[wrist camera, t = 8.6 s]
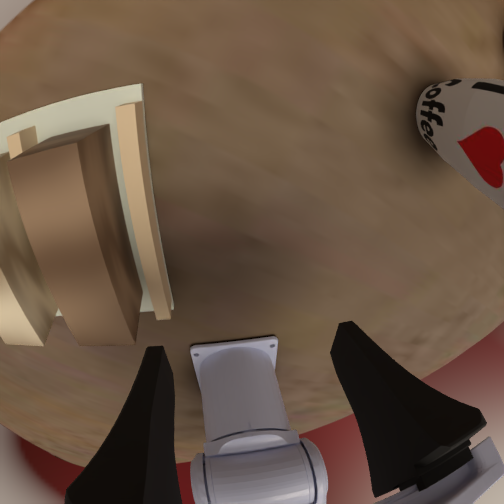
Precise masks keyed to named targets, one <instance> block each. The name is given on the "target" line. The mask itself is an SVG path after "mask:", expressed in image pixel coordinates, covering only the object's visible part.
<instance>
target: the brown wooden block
mask: <svg viewBox="0 0 504 504" xmlns="http://www.w3.org/2000/svg"><path fill="white" fill-rule="evenodd" d="M7 167H8V171H9V175H10V180H11V184H12V187H13V191H14V195H15V198H16V202H17V205H18V209H19V212H20V215H21V218H22V221H23V224H24V227H25V230H26V233H27V236H28V239H29V241H30V244H31V247H32V249H33V252H34V255H35V257H36V260H37V262H38V264H39V267H40V269H41V272H42V274H43V276H44V278H45V281H46V283H47V285H48V287H49V289H50V292H51V294H52V296H53V298H54V300H55V302H56V304H57V306H58V308H59V310H60V312H61V314H62V316H63V318H64V320H65V321H66V323H67V325H68V327H69V329H70V331H71V332H72V334H73V336H74V338H75V339H76V341H77V343H78V344H79V346H116V345H135V344H136V336H137V329H138V321H139V315H140V308H141V302H142V295H143V290H142V286H141V283H140V279H139V275H138V272H137V268H136V264H135V260H134V256H133V252H132V248H131V244H130V240H129V236H128V231H127V227H126V222H125V217H124V212H123V208H122V202H121V197H120V192H119V186H118V181H117V175H116V168H115V162H114V155H113V148H112V140H111V132H110V124H104V125H99V126H95V127H90V128H85V129H81V130H77V131H72V132H68V133H64V134H60V135H57V136H53V137H50V138H48V139H46V140H44V141H42V142H40V143H38V144H37V145H35V146H33V147H31V148H29V149H28V150H26V151H24V152H22V153H21V154H19V155H17V156H16V157H14V158H12V159H11V160H9V161H7Z"/></svg>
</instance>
